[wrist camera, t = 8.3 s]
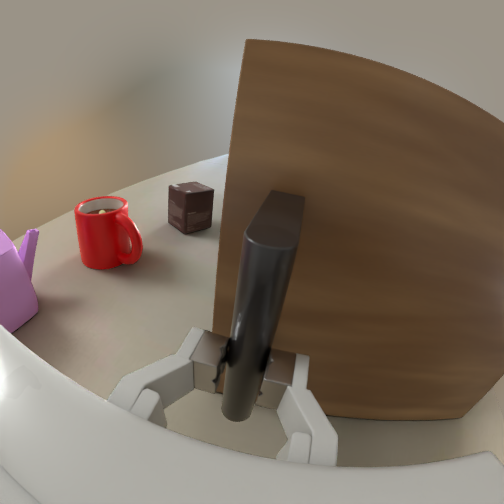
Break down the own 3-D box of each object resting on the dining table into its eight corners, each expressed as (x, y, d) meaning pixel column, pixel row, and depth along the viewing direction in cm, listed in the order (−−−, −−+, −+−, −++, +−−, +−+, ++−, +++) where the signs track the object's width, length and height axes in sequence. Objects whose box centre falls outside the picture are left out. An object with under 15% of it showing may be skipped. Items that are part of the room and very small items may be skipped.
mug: (125, 287, 31) (118, 228, 27) (72, 257, 34) (64, 208, 30) (162, 260, 37) (161, 208, 34) (107, 238, 40) (104, 192, 37)
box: (212, 228, 49) (215, 189, 46) (183, 235, 45) (185, 193, 42) (193, 216, 53) (196, 181, 49) (167, 222, 49) (168, 184, 45)
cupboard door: (470, 461, 12) (632, 234, 1) (185, 445, 15) (193, -16, 4) (459, 410, 18) (582, 198, 7) (212, 380, 21) (250, 44, 10)
